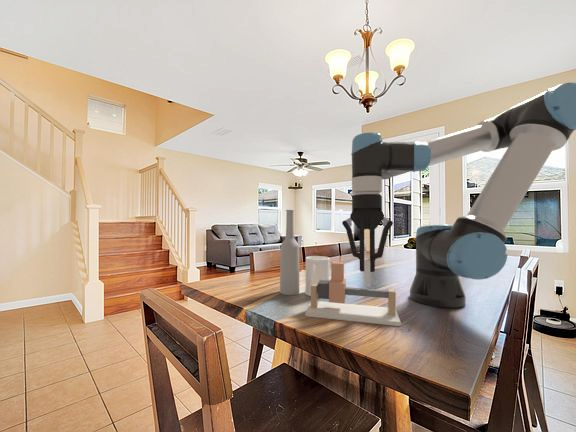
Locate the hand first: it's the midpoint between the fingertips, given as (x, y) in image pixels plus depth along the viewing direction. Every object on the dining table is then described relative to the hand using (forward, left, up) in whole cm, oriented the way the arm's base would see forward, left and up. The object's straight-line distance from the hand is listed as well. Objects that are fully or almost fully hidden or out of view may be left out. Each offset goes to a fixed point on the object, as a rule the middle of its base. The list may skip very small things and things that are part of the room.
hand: (367, 284), depth 71 cm
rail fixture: (+4, 0, -8) cm, 9 cm away
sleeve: (+8, 0, -5) cm, 9 cm away
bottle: (+25, -14, -8) cm, 30 cm away
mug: (+16, -14, -9) cm, 23 cm away
